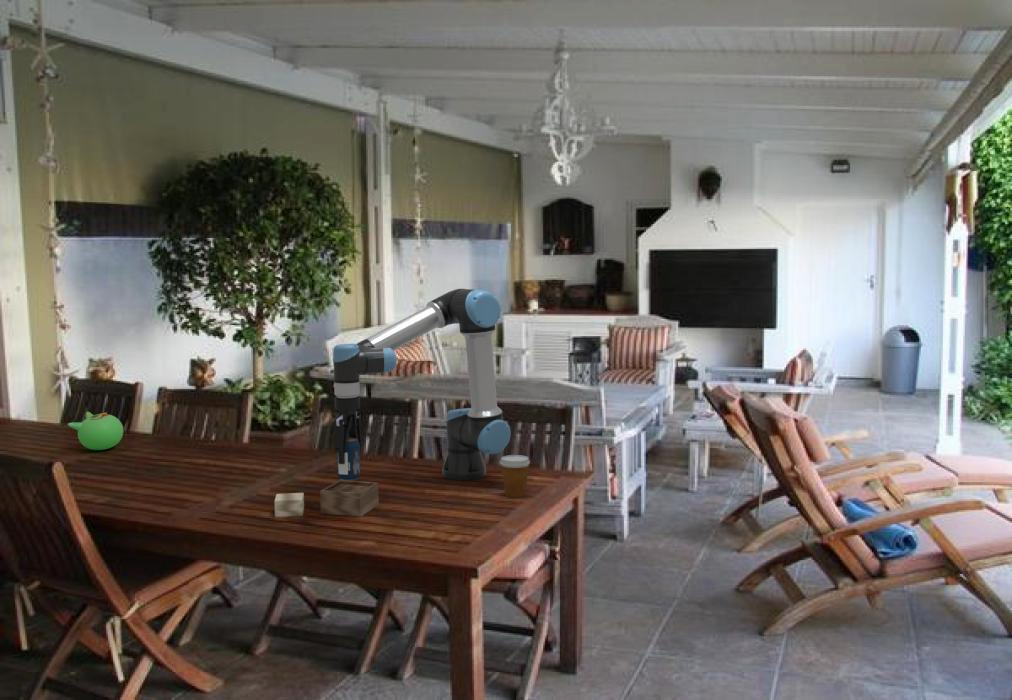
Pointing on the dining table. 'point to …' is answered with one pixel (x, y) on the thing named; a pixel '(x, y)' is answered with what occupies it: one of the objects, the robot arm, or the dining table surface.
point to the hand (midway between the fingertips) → (348, 470)
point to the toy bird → (98, 431)
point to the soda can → (351, 460)
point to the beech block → (289, 504)
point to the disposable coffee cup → (514, 474)
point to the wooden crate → (349, 498)
